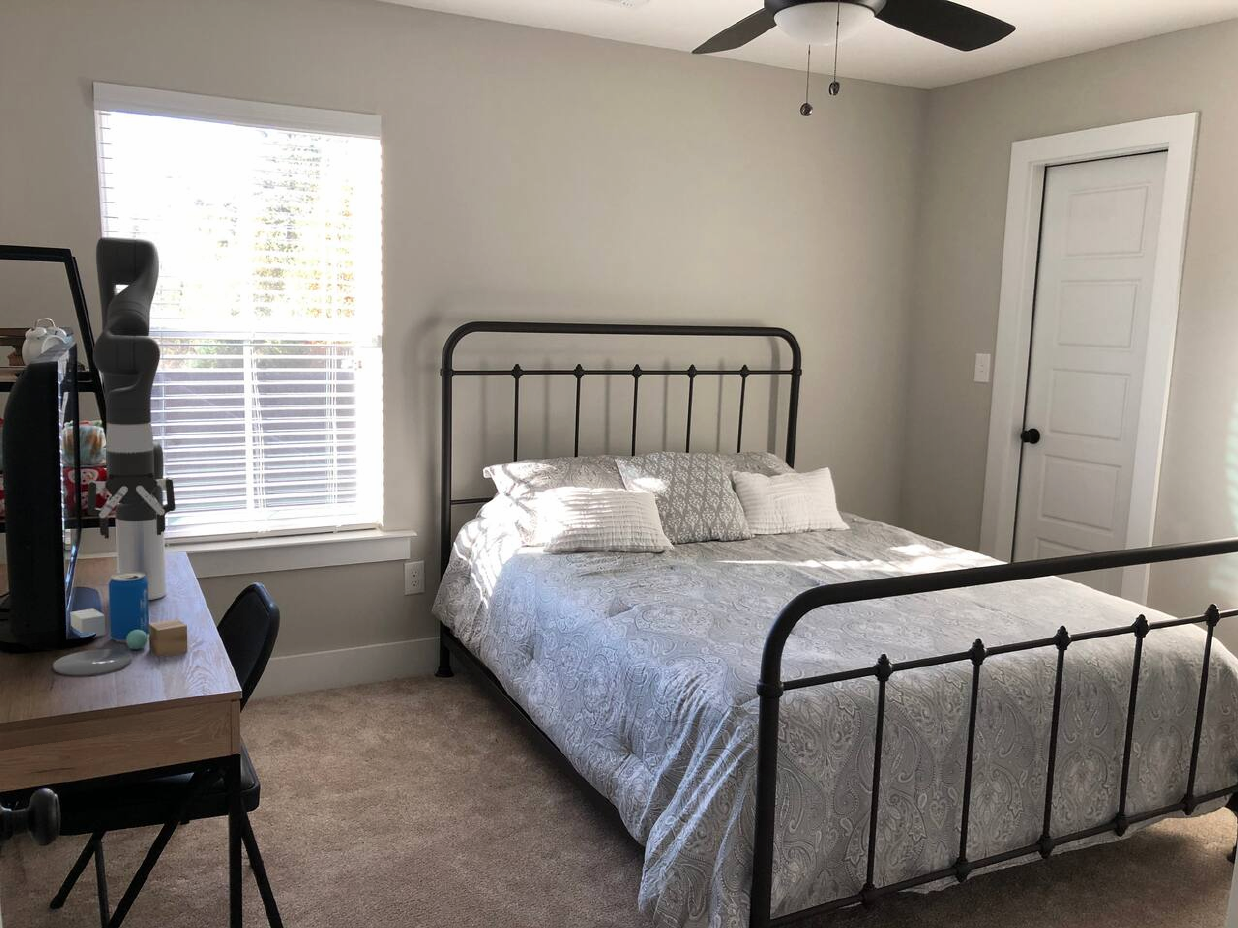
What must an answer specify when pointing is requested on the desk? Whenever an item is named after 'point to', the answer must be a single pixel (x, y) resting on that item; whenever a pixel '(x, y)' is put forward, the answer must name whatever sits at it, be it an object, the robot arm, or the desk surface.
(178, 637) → the walnut cube
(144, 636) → the teal ball
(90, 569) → the desk surface
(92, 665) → the coaster
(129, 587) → the beverage can
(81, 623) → the white block
